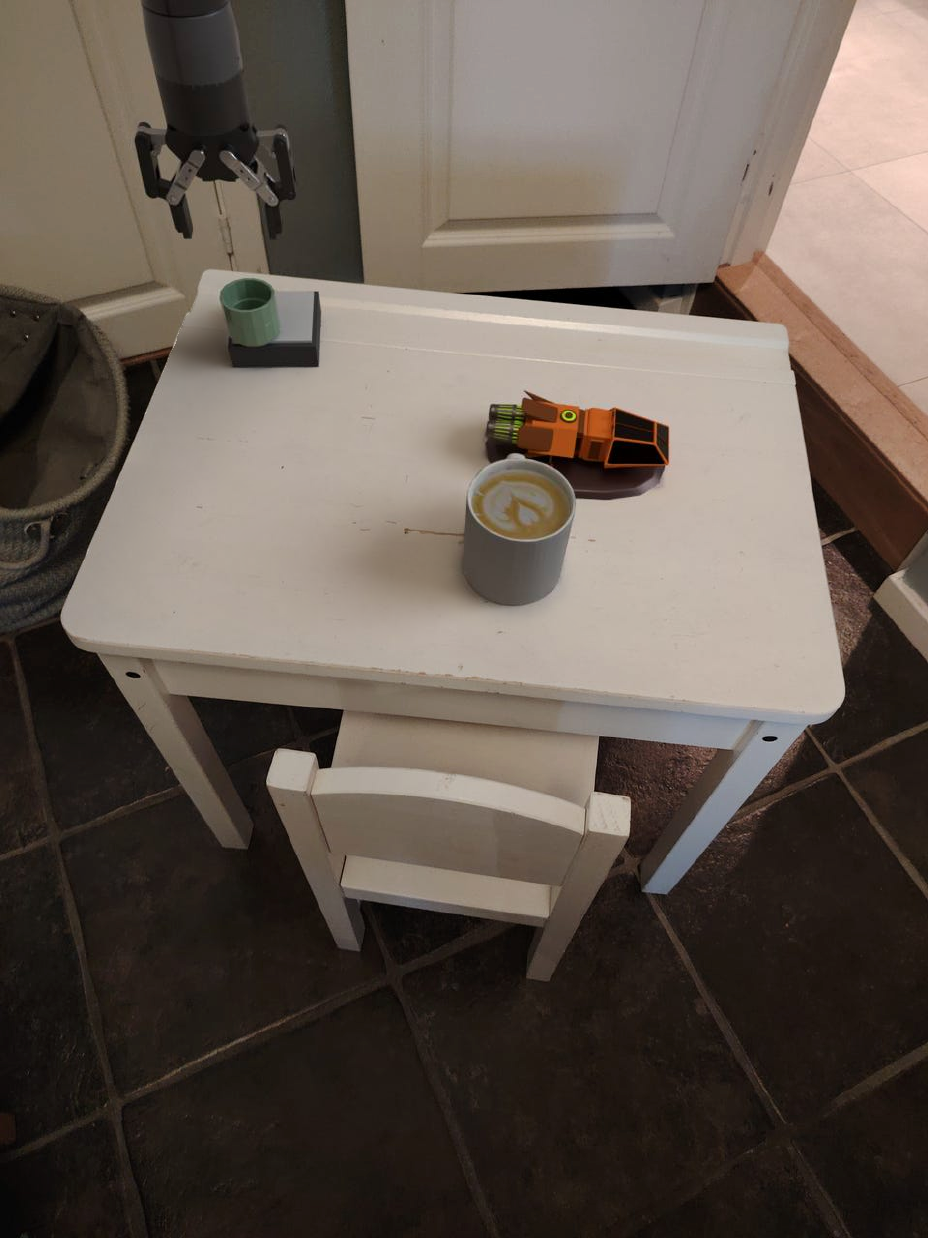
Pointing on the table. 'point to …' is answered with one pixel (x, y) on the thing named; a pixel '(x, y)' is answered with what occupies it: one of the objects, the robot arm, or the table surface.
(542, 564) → the coffee mug
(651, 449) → the toy spacecraft
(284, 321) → the scale
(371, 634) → the table surface
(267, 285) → the green cup
